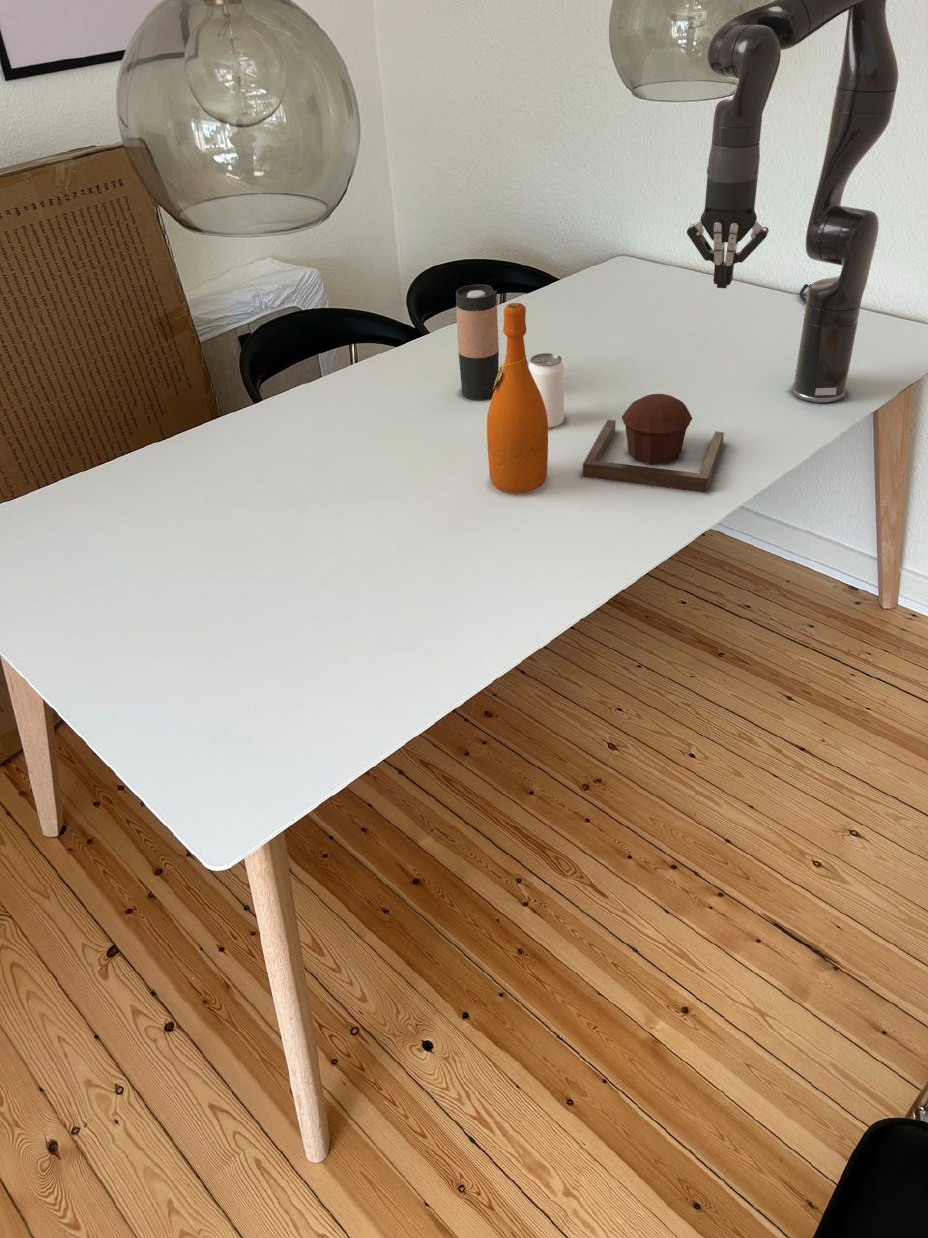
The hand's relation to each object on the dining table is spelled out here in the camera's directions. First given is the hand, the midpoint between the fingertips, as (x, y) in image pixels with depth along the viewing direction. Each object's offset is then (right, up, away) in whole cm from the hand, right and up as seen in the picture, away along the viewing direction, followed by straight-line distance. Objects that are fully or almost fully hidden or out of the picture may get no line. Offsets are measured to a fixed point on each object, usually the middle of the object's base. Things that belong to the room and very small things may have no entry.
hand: (722, 286), depth 166 cm
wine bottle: (-33, -31, +4) cm, 46 cm away
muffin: (-9, -26, +10) cm, 29 cm away
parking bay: (-10, -27, +8) cm, 30 cm away
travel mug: (-39, -10, +33) cm, 52 cm away
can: (-27, -18, +22) cm, 39 cm away
